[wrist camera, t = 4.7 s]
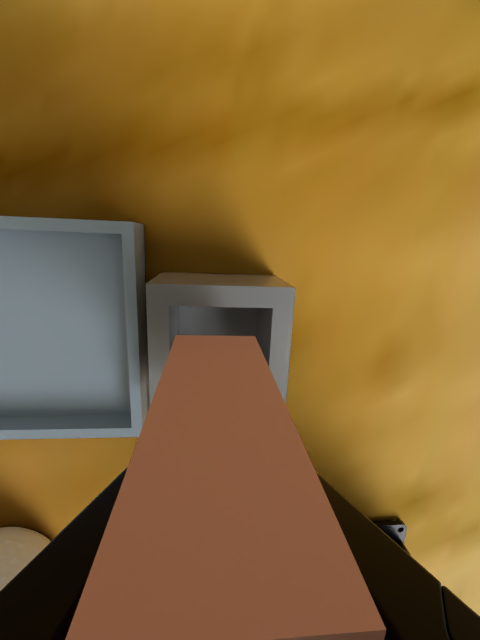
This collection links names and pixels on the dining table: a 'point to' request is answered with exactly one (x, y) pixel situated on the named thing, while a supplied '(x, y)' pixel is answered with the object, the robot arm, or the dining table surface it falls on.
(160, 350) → the hollow square socket
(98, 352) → the tray
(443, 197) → the dining table surface
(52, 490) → the dining table surface
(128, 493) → the peg
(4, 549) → the mug
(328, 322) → the dining table surface
